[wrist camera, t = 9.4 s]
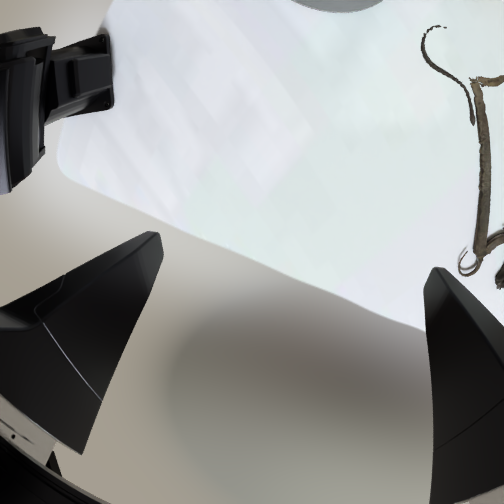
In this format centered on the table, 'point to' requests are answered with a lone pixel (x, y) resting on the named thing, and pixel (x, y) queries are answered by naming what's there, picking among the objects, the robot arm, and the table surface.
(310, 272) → the table surface
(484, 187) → the hacksaw
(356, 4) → the coaster
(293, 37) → the table surface
